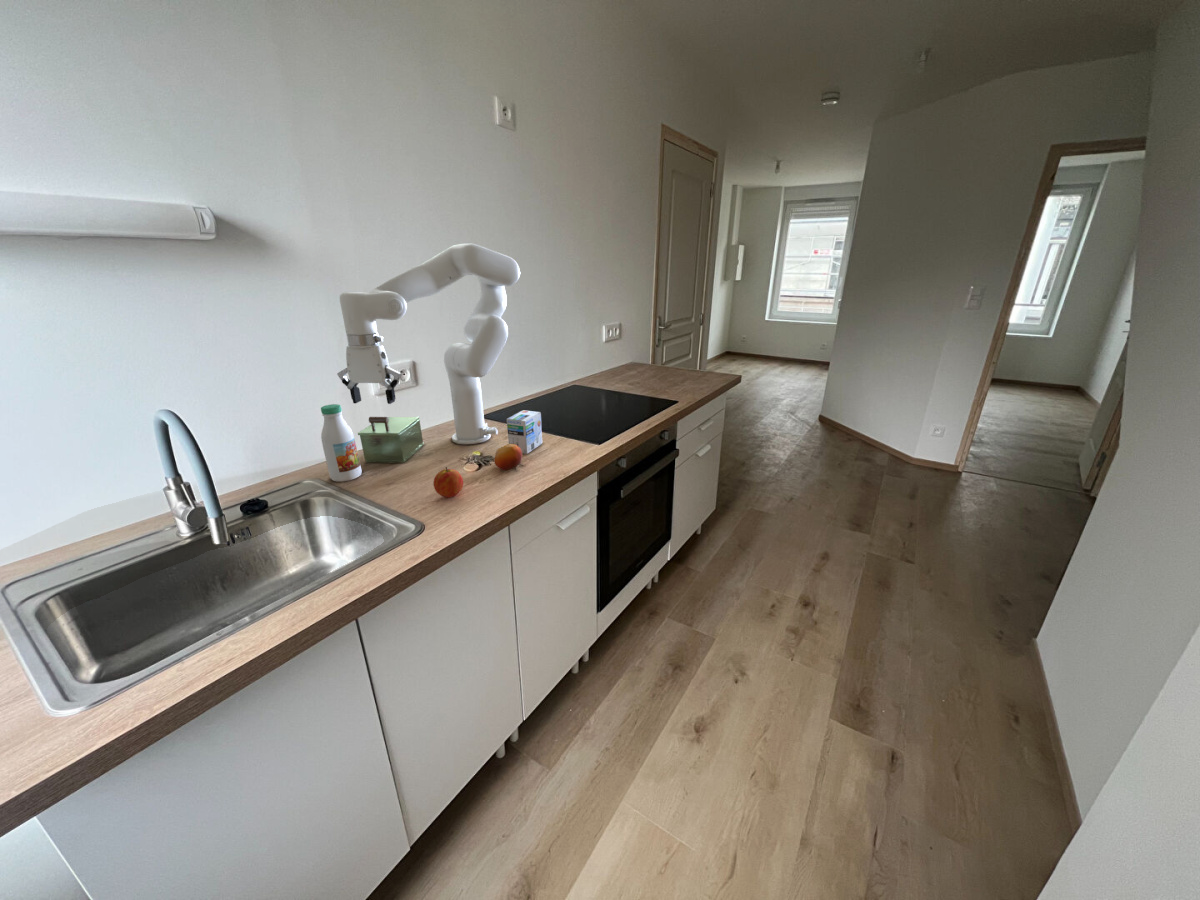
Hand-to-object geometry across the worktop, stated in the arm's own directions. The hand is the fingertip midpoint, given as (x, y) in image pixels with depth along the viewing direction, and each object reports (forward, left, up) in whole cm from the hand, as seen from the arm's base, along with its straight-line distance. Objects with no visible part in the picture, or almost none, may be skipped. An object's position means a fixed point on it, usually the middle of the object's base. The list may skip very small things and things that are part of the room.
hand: (374, 402), depth 127 cm
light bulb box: (-40, -12, -18) cm, 45 cm away
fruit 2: (-38, +4, -18) cm, 42 cm away
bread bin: (0, -6, -18) cm, 19 cm away
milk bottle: (+6, +11, -18) cm, 22 cm away
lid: (0, -6, -9) cm, 11 cm away
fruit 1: (-27, +22, -18) cm, 39 cm away
